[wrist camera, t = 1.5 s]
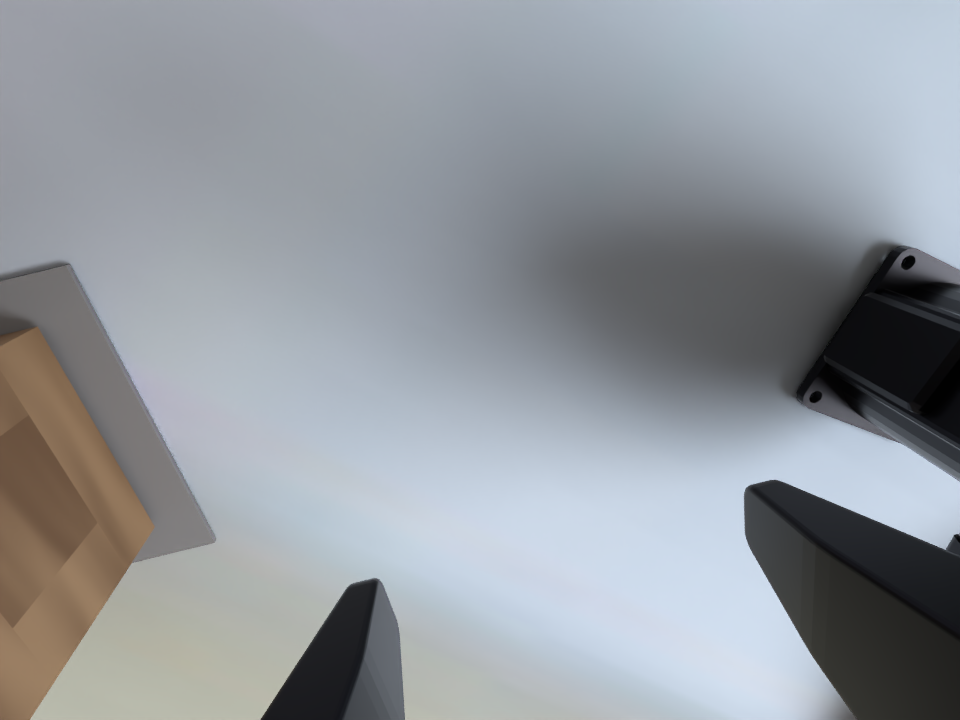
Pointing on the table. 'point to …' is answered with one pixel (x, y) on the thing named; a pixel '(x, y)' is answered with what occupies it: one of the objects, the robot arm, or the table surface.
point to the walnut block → (53, 522)
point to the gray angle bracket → (108, 402)
